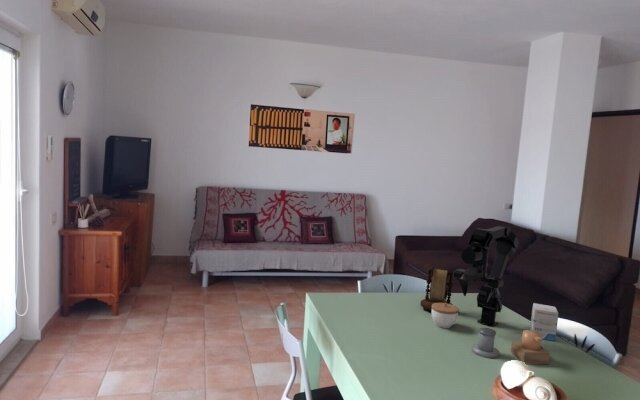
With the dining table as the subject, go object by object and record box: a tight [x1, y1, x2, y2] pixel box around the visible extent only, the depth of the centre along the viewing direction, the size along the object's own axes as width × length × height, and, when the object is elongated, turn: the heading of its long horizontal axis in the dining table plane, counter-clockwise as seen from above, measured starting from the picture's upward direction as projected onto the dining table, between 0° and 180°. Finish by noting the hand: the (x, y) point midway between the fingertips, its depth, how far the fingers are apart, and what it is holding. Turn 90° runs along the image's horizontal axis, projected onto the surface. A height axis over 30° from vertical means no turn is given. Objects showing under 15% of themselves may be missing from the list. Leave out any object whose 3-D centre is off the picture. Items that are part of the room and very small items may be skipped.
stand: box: [510, 340, 551, 365], centre depth 160 cm, size 9×9×4 cm
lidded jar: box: [430, 303, 460, 329], centre depth 186 cm, size 11×11×9 cm
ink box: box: [529, 302, 559, 342], centre depth 183 cm, size 9×8×12 cm
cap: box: [520, 329, 543, 351], centre depth 159 cm, size 8×6×5 cm
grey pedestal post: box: [471, 327, 500, 359], centre depth 162 cm, size 9×9×8 cm
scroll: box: [420, 264, 454, 311], centre depth 204 cm, size 15×15×20 cm
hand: (475, 299), depth 182 cm, fingers open, 9 cm apart
